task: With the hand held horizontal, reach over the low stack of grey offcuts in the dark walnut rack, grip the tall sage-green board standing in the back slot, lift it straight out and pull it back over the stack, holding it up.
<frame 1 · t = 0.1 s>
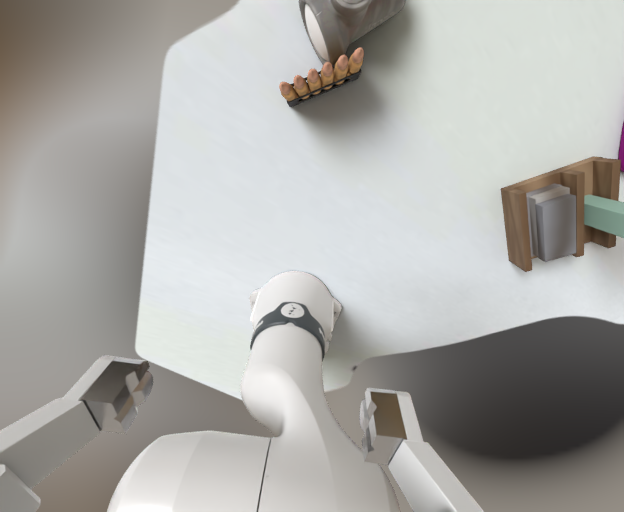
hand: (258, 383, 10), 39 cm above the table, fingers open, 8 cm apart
tall board: (580, 207, 43), point 1 cm above the table, touching rack
rack: (542, 214, 45), on the table
ammunition clip: (321, 86, 39), on the table
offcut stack: (538, 220, 44), point 1 cm above the table, touching rack
pipe fitting: (351, 20, 36), on the table
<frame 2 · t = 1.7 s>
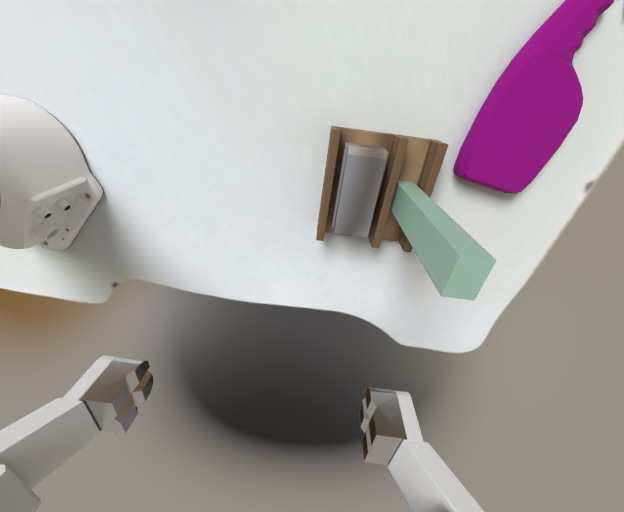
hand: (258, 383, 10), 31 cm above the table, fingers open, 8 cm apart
tall board: (400, 194, 36), point 1 cm above the table, touching rack
rack: (366, 186, 37), on the table
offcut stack: (355, 188, 36), point 1 cm above the table, touching rack
spray bottle: (541, 80, 31), on the table
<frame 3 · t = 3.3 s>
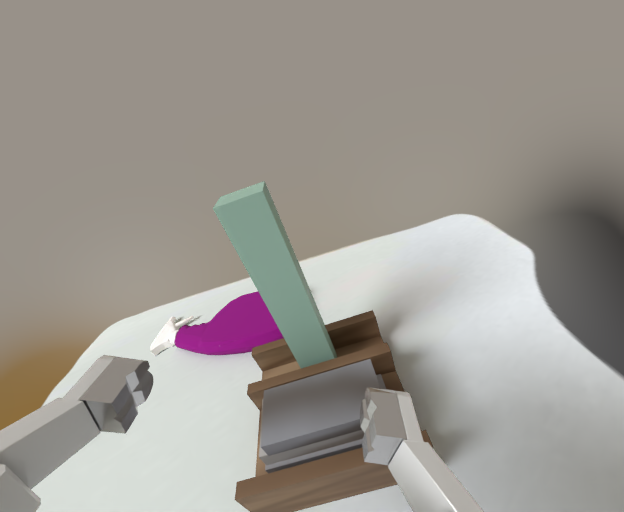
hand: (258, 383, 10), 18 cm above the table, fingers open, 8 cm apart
tall board: (322, 367, 28), point 1 cm above the table, touching rack
rack: (333, 416, 25), on the table
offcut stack: (332, 426, 23), point 1 cm above the table, touching rack
spray bottle: (226, 331, 42), on the table
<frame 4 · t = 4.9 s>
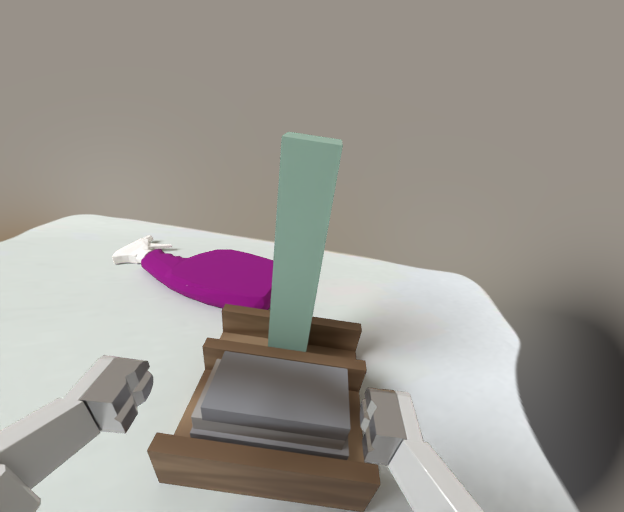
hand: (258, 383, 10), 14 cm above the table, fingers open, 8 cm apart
tall board: (286, 355, 26), point 1 cm above the table, touching rack
rack: (277, 409, 23), on the table
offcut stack: (275, 418, 21), point 1 cm above the table, touching rack
spray bottle: (198, 276, 39), on the table
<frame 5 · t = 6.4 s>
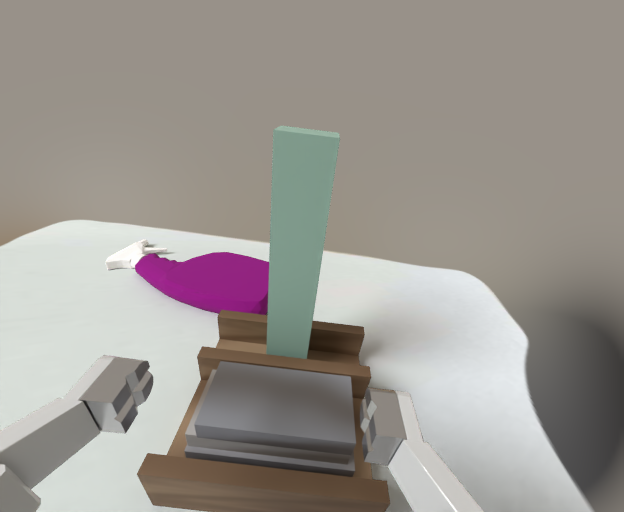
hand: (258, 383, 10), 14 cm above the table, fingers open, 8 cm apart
tall board: (286, 362, 25), point 1 cm above the table, touching rack
rack: (278, 419, 22), on the table
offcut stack: (275, 431, 20), point 1 cm above the table, touching rack
spray bottle: (194, 280, 38), on the table
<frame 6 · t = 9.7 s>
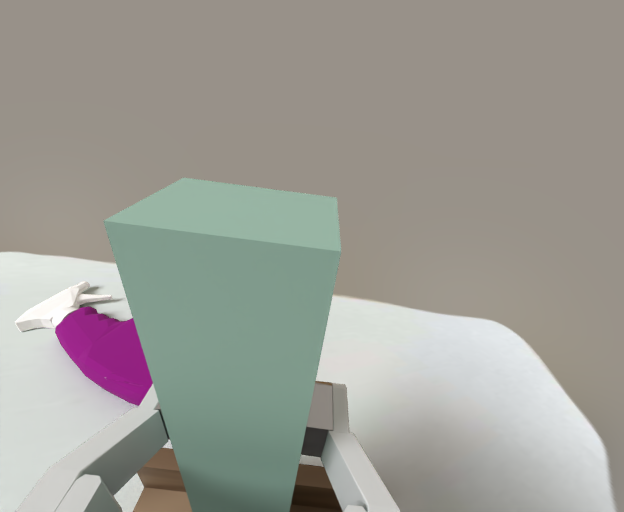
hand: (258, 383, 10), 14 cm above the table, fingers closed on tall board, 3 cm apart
spray bottle: (140, 345, 28), on the table
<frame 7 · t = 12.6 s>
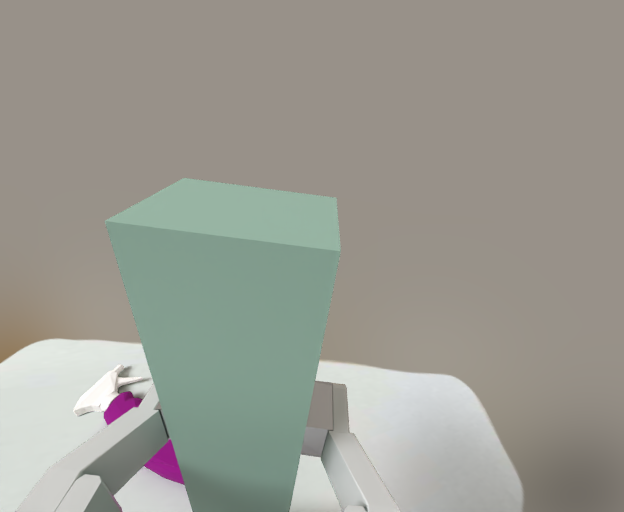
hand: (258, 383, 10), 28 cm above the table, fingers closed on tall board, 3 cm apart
spray bottle: (167, 422, 36), on the table
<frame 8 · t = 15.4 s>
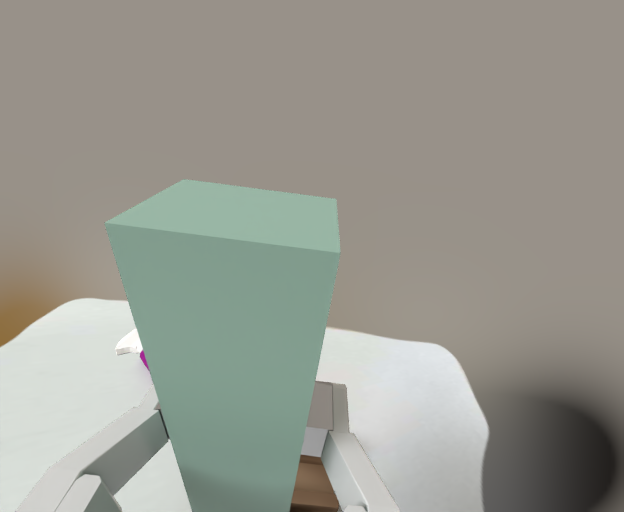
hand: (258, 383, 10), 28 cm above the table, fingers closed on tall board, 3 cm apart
spray bottle: (191, 365, 42), on the table
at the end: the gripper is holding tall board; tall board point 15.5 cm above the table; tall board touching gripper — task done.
